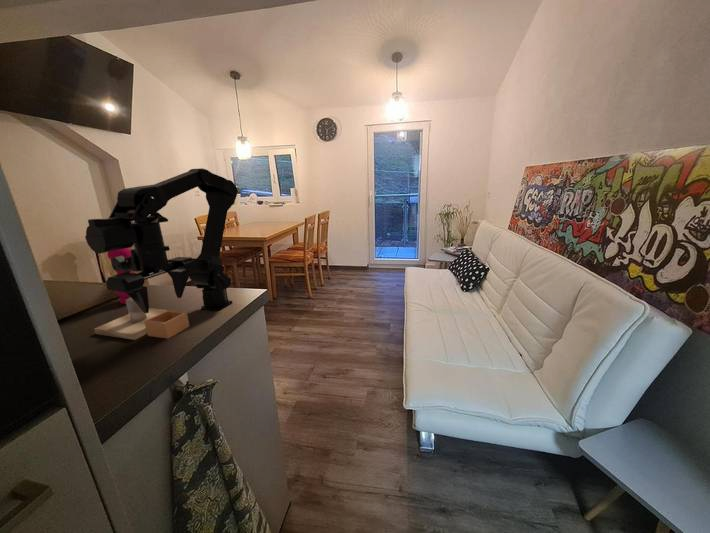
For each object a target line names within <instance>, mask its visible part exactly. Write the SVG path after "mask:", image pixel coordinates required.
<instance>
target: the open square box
mask: <svg viewBox="0 0 710 533" xmlns="http://www.w3.org/2000/svg"><path fill="white" fill-rule="evenodd" d="M166 310H167V311H165V312H163V313H160V314H158V315H156V316H154V317H152V318H150V319H148V320H146V321H144V323H145V326H146V330H147V334H146V335H147V336H148V337H154V338H160V339H161V338H162V339H167V340H168V339H170V338H172V337H174V336H176V335H177V334H178V333H180V332H182V331H184V330H186V329H188V328H189V327H190V322H189V317H188V312H186V311H179V310H178V311H179V312H178V311H177V310H170V311H169V310H168V309H166Z"/></svg>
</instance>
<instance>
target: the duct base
mask: <svg viewBox="0 0 710 533" xmlns="http://www.w3.org/2000/svg"><path fill="white" fill-rule="evenodd" d="M125 301H126V304H125V305H126V308H127V312H128V314H125V315H122V316H120V317H118V318H116V319H113V320H111V321H109V322H106V323H104V324H102V325H99V326H96V327H95V328H94V333H95V335H100V336H107V337H112V338H113V337H115V338H120V339H127V340H132V341H133V340H134V341H135V340H137V339H139V338H141V337H143V336H145V335H148V334H147V330H146V326H145V323H144V321H146V320H148V319H150V318H152V317H154V316H156V315H158V314H160V313H163V312H165V311H167V310H168V309H159V308H151V307H149V313H144V312H143V311H142V310H141V309H140V308H139V306H138V305H137V304H136V303H135V301H134V300H133V299H132V298H128V299H126V300H125ZM169 311H171V309H170V310H169ZM178 312H180V311H179V310H178Z"/></svg>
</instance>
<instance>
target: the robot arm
mask: <svg viewBox="0 0 710 533" xmlns="http://www.w3.org/2000/svg"><path fill="white" fill-rule="evenodd" d="M195 188H198V189H199V191H201V192H203V193H204V194H205V199H206V202H207V205H208V207H209V208H208V213H207V218H206V225H205V229H204V235H203V240H202V245H201V248H200V249H201V250H200V253H199V255H198V256H197V257H196V258H194V257H193V258H192V257H188V256H177V257H174V258H170V259H168V255H167V251H168V252H169V251H170V250H171V249H170V245H165V242H164V241H165V240H164V237H163V233H162V228H161V224H160V223H168V222H169V218H167V217H165V216H163V215H162V214H160V212H159V211H161V210H162V209H163V208H165V206H167V204H168V202H169V201H171V199H173V198H175V197H178V196H181V195H182V194H185V193H186V192H188V191H190V190H193V189H195ZM237 196H238V188H237V185H236V184H235V183H234V181H232V180H230V179H227V178H225V177H224V176H220V175H218V174H215V173H212V172H211V171H210V170H208V169H206V168H203V167H199V168H191V169H189V170H188V171H186V172H183V173H180V174H178V175H175V176H172V177H170V178H167V179H164V180H162V181H159V182H157V183H154V184H148V185H141V186H140V185H139V186H134V187H127V188H122V189H120V190H119V191H118V192H117V197H116V200H117V201H116V204H115V205H114V207H113V209H112V210H111V213H110V215H109V217H108V218H92V219H91V218H90V219H89V218H88V220H87V222H88V226H87V227H86V231H85V236H84V237H85V240H86V243H87V245H88V246H89V248H90V249H91V250H92V251H93V252H94V253H96V254H99V255H100V254H104V253H108V252H110V251H115V250H120V249H125V248H130V250H131V257H128V258H124V257H123V256H118V257H114V258H112V259H111V260H110V263H111V264H110V265H111V267H112V270H114V272H116V273H117V272H118V271H121V270H123V272H124V273H121V274H118V275H117V274H114V275H111V276H107V279H106V282H105V285H106V288H107V290H108V291H114V292H115V291H117V292H124V293H126V294H127V295H128V296H130V297H131V298H132V299H133V300H134V301H135V303H136V304H137V305H138V306H139V308H140V309H141V310H142V311H143V312H144V313H149V308H150V306H149V305H150V302H149V294H148V293H149V292H148V287H147V286H144V285H145V283H146V282H145V281H146V280H148V279H152V278H154V277H157V276H160V275H164V274H166V273H167V274H168V276H170V278H171V280H172V286H173V288H174V293H175V296H176V298H177V299H181V298H183V295H184V291H185V288H186V284H187V282H188V280H189V279H190V280H191V282H192V283H193V284H194V285H195V287H196V289H202V290H201V291H202V301H203V305H202V306H201V308H200V309H201V310H209V311H216V312H217V311H220V310H222V309H224V308H225V307H228V306H229V305H231V304H232V303H233V300H229V298H228V293H227V292H228V291H227V289H228V287H231V284H232V279H231V277H229V276H228V275H226V274H225V273H224V265H223V263H222V260H221V258H220V256H221V249H222V244H223V243H222V242H223V237H224V232H225V227H226V221H227V216H228V211H229V210H230V209H231V208H232V206H233V205H234V204H235V202H236V199H237ZM133 246H134V248H132V247H133ZM131 248H132V249H131ZM131 271H133V272H134V273H129V272H131ZM136 272H137V273H136Z"/></svg>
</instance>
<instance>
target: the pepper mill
mask: <svg viewBox="0 0 710 533" xmlns="http://www.w3.org/2000/svg"><path fill="white" fill-rule="evenodd" d="M131 250H132V249H131V247H130V248H125V249H120V250H115V251H110V252H106V254H107V258H108V259H109V260H110V261H111V259H112V258H114V257H118V256H123V257H124V258H128V257H131ZM121 273H124V272H123V270H121V271H118V272H116V275H118V274H121ZM129 273H135V271H131V272H129ZM114 292H115V294H117V295H118V296H119V297H118V300H119V303H120V304H123V305H126V301H125V300H126V299H128V298H131V297H130V296H128V295H127V294H126V293H124V292H117V291H114Z"/></svg>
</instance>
